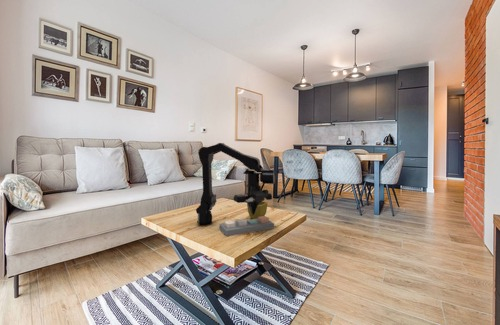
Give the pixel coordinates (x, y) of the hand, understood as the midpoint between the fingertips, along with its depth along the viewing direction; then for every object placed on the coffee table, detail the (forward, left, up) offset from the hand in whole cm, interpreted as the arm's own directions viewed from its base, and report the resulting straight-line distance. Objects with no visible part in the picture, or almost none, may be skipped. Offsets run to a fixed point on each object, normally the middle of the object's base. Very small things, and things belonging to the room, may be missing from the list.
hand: (253, 214), depth 112 cm
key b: (-6, 0, -5) cm, 8 cm away
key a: (-12, 0, -5) cm, 13 cm away
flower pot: (+9, +12, -7) cm, 17 cm away
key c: (0, 0, -7) cm, 7 cm away
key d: (+6, 0, -5) cm, 8 cm away
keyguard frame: (-3, 0, -7) cm, 7 cm away
